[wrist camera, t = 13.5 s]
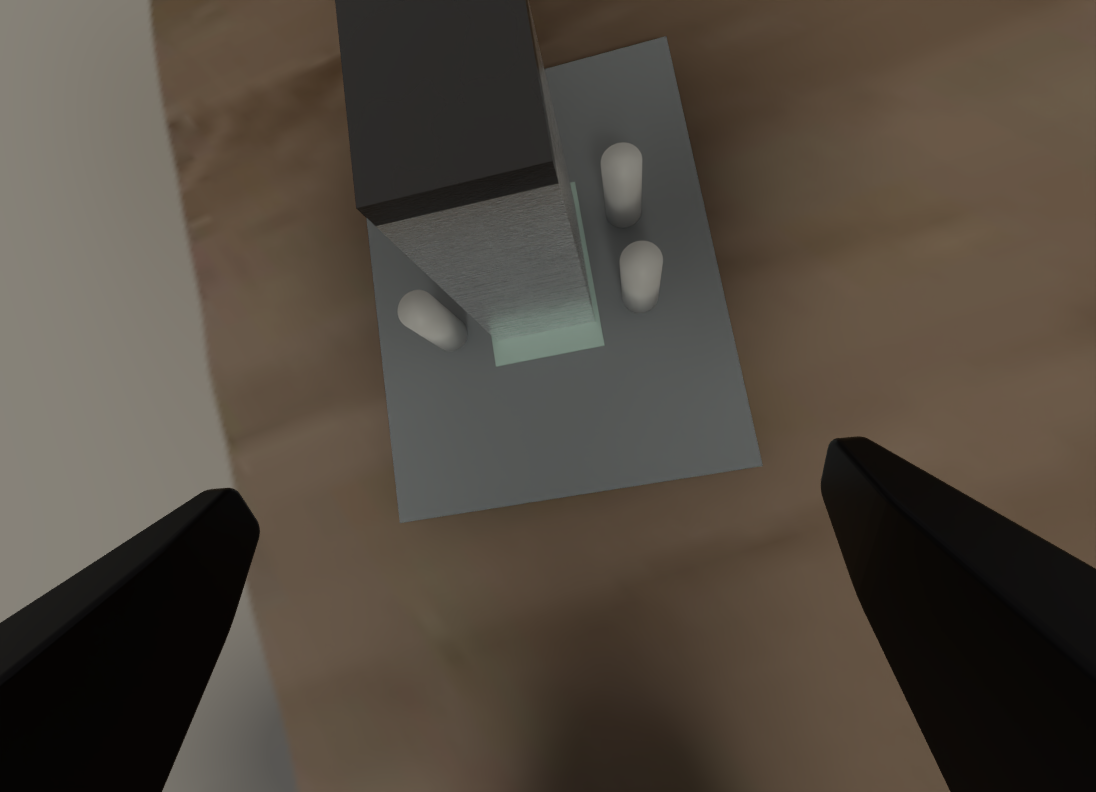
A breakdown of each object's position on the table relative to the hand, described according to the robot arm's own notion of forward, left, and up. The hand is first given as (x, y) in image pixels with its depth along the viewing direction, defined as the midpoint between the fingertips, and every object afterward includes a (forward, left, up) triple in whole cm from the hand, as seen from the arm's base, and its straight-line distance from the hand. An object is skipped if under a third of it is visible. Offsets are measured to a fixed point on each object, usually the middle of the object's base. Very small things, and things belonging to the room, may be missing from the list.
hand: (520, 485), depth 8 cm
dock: (+7, +5, -13) cm, 16 cm away
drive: (+7, +5, -12) cm, 15 cm away
